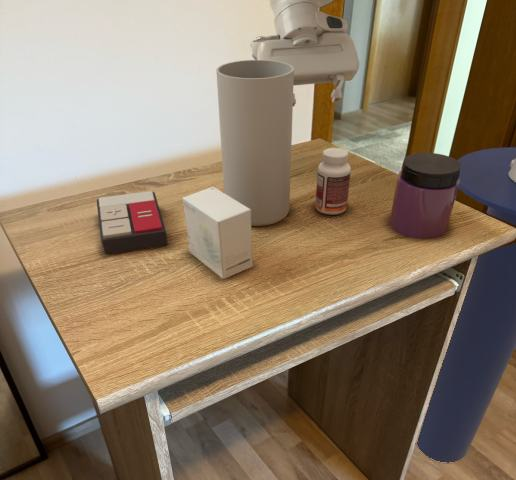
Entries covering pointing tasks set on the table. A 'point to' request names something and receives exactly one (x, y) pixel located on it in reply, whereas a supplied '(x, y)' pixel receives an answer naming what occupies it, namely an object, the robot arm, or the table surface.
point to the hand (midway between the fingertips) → (314, 103)
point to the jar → (421, 209)
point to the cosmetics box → (219, 231)
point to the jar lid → (430, 170)
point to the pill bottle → (333, 182)
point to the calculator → (130, 222)
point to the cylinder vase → (257, 135)
